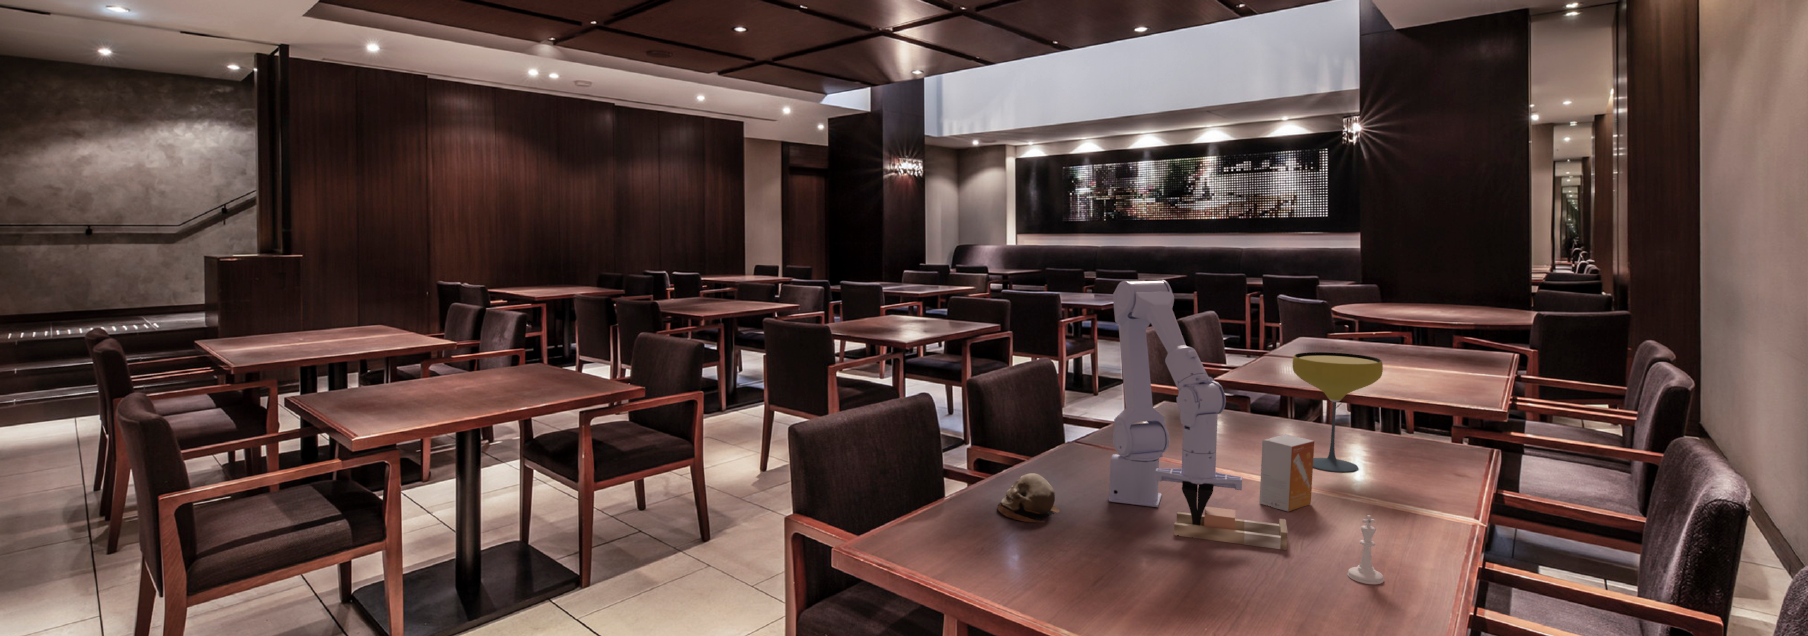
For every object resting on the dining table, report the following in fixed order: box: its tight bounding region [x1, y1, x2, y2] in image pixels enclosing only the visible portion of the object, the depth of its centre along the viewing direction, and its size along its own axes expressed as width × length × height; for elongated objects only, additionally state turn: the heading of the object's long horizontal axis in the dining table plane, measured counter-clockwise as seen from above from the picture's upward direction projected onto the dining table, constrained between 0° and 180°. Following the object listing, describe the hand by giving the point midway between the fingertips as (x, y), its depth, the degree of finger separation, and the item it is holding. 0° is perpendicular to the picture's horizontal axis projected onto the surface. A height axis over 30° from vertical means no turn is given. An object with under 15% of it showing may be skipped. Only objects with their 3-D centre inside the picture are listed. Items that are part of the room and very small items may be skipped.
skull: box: [997, 472, 1060, 523], centre depth 158 cm, size 12×10×10 cm
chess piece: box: [1347, 514, 1384, 585], centre depth 127 cm, size 5×5×10 cm
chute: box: [1173, 511, 1289, 551], centre depth 145 cm, size 18×7×3 cm, turn 67°
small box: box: [1259, 433, 1315, 512], centre depth 161 cm, size 8×6×13 cm
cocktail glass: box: [1292, 351, 1384, 473], centre depth 186 cm, size 18×18×25 cm
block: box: [1204, 506, 1236, 530], centre depth 145 cm, size 5×4×4 cm
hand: (1196, 523), depth 147 cm, fingers closed
